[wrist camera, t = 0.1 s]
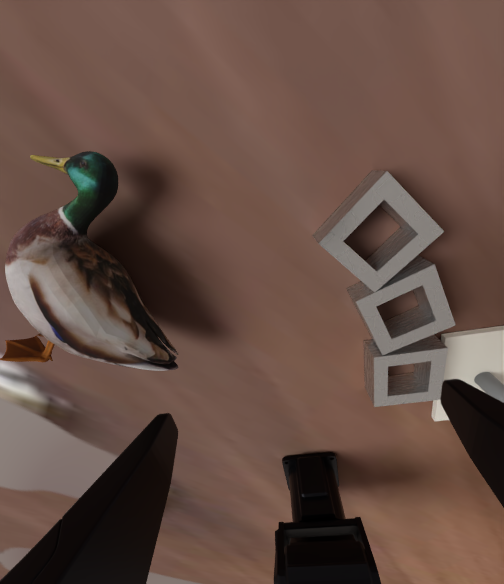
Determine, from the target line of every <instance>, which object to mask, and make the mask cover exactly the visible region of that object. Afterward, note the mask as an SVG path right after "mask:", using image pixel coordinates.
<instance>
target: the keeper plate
mask: <svg viewBox="0 0 504 584" xmlns="http://www.w3.org/2000/svg"><path fill="white" fill-rule="evenodd" d="M441 342H442V343H443V344H444V345H445V346H446V347H447V348H448V351H447V358H446V365H445V372H444V380H449V379H460V380H462V381H464V382H466V383H468V384H470V385H472V386H473V387H475V388H477V389H479V390H481V391H483V392H485V393H487V394H488V395H490V396H492V397H494V398H496V399H498V400H500V401H502V402H503V403H504V326H496V327H489V328H482V329H475V330H467V331H460V332H453V333H446V334H441ZM444 380H443V381H444ZM431 417H432V418H433V420H434V421H442V420H449V418H448V416H447V414H446V413H445V411H444V409H443V407H442V405H441V401H440V400H433V408H432V416H431Z"/></svg>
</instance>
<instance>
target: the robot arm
mask: <svg viewBox="0 0 504 584" xmlns="http://www.w3.org/2000/svg"><path fill="white" fill-rule="evenodd" d="M440 401H441V405H442V407H443V409H444V411H445V413H446V414H447V416H448V418H449V420H450V422H451V424H452V425H453V427H454V429H455V431H456V433H457V435H458V436H459V438H460V440H461V442H462V444H463V446H464V447H465V449H466V451H467V453H468V454H469V456H470V458H471V459H472V461H473V463H474V464H475V466H476V467H477V469H478V470H479V472H480V473H481V475H482V476H483V478H484V479H485V481H486V482H487V484H488V485H489V486H490V488H491V489H492V491H493V492H494V494H495V495H496V497H497V498H498V500H499V501H500V503H501V504H502V506H503V507H504V403H503V402H502V401H500V400H498V399H496V398H494V397H492V396H490V395H488V394H487V393H485V392H483V391H481V390H479V389H477V388H475V387H473V386H472V385H470V384H468V383H466V382H464V381H462V380H460V379H449V380H444V381H443V383H442V390H441V397H440ZM177 439H178V429H177V426H176V424H175V422H174V420H173V418H172V416H171V414H169V413H165V414H159V415H157V416H156V417H155V418H154V419H153V420H152V421H151V422H150V423H149V425H148V426H147V427H146V428H145V429H144V430H143V431H142V432H141V433H140V434H139V435H138V436H137V437H136V438H135V440H134V441H133V442H132V443H131V444H130V445H129V446H128V447H127V448H126V449H125V450H124V451H123V452H122V453H121V455H120V456H119V457H118V458H117V459H116V460H115V461H114V462H113V463H112V464H111V465H110V466H109V467H108V468H107V470H106V471H105V472H104V473H103V474H102V475H101V476H100V477H99V478H98V479H97V480H96V481H95V482H94V484H93V485H92V486H91V487H90V488H89V489H88V490H87V491H86V492H85V493H84V494H83V495H82V496H81V497H80V498H79V500H78V501H77V502H76V503H75V504H74V505H73V506H72V507H71V508H70V509H69V510H68V511H67V512H66V513H65V515H64V516H63V517H62V519H60V520H59V521H58V522H57V523H56V524H55V525H54V526H53V527H52V528H51V529H50V531H49V532H48V533H47V534H46V535H45V536H44V537H43V538H42V539H41V540H40V541H39V542H38V543H37V544H36V545H35V546H34V547H33V548H32V549H31V550H30V551H29V553H28V554H27V555H26V556H25V557H24V558H23V559H22V560H21V561H20V562H19V563H18V564H17V565H16V566H15V567H14V568H13V569H12V570H10V571H9V572H8V573H7V574H6V575H5V576H4V577H3V578H2V579H1V580H0V584H146V581H147V577H148V573H149V569H150V565H151V561H152V557H153V553H154V549H155V545H156V541H157V537H158V533H159V529H160V525H161V521H162V517H163V513H164V509H165V505H166V501H167V497H168V493H169V488H170V484H171V478H172V472H173V465H174V459H175V452H176V446H177ZM282 463H283V468H284V472H285V476H286V480H287V484H288V488H289V490H290V495H291V507H292V518H293V522H290V523H284V522H279V529H278V530H276V531H275V545H276V553H275V568H274V584H381V581H380V577H379V574H378V570H377V567H376V563H375V560H374V557H373V554H372V551H371V548H370V545H369V542H368V539H367V536H366V533H365V530H364V527H363V524H362V521H361V518H360V517H355V518H353V519H345V514H344V510H343V506H342V502H341V498H340V494H339V489H338V486H339V480H338V470H337V461H336V455H335V454H334V453H323V454H312V455H302V456H291V457H284V458H283V459H282Z"/></svg>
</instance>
